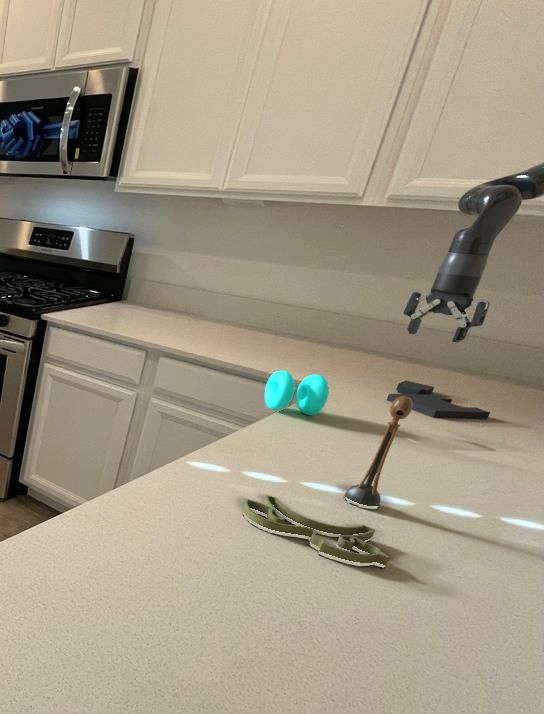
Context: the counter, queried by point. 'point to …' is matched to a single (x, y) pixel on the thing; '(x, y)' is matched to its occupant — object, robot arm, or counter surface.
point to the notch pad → (441, 407)
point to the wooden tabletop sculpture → (380, 457)
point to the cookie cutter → (344, 541)
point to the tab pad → (414, 388)
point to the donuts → (308, 393)
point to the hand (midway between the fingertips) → (433, 337)
